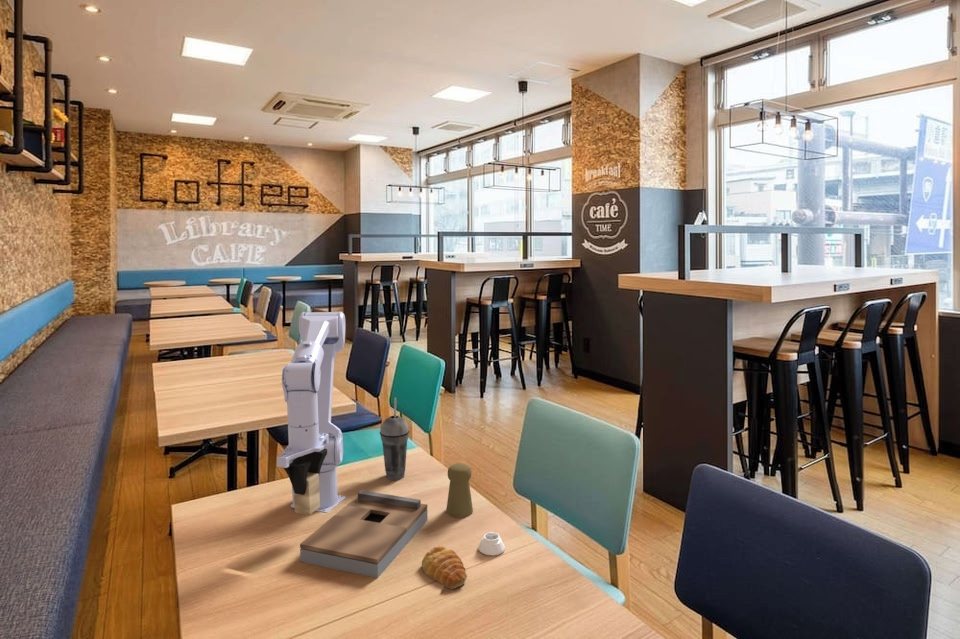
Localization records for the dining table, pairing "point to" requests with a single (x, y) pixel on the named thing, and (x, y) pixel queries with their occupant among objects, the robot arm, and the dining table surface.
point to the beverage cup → (394, 445)
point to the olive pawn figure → (459, 491)
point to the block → (308, 496)
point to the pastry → (444, 567)
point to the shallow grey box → (360, 565)
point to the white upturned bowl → (491, 544)
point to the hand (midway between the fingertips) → (305, 489)
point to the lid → (366, 527)
